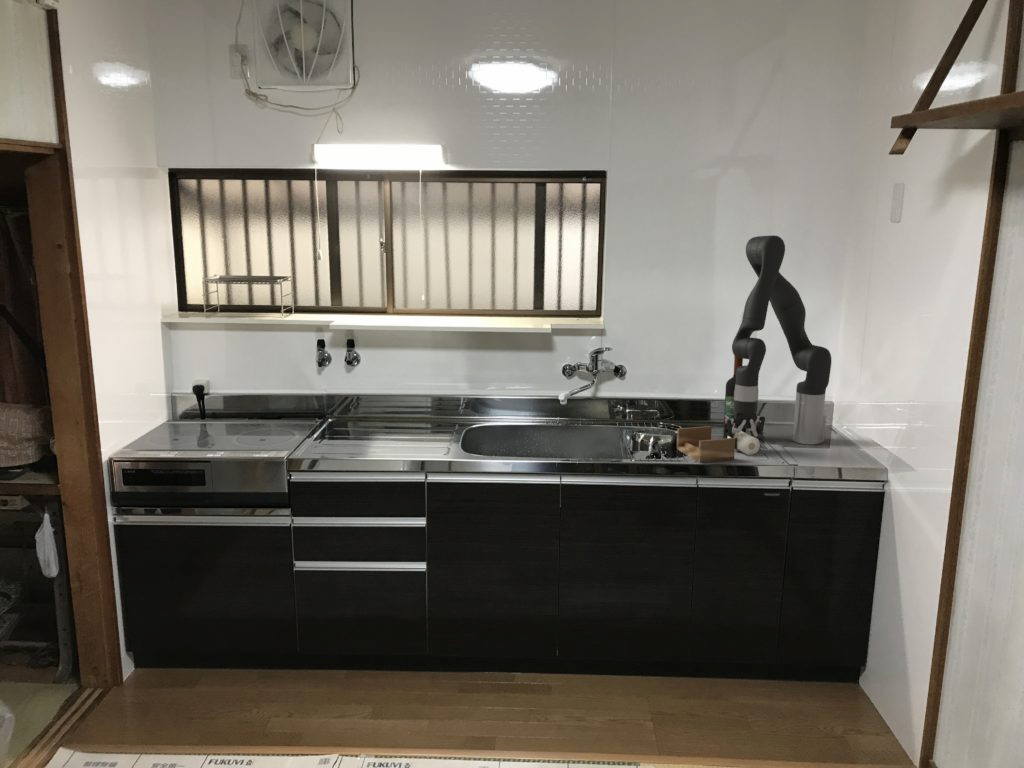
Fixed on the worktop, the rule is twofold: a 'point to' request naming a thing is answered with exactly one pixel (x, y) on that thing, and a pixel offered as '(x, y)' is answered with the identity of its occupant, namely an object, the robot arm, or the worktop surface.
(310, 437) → the worktop surface
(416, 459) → the worktop surface
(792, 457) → the worktop surface
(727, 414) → the wine bottle
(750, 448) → the white cylinder
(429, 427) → the worktop surface
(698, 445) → the walnut cradle
